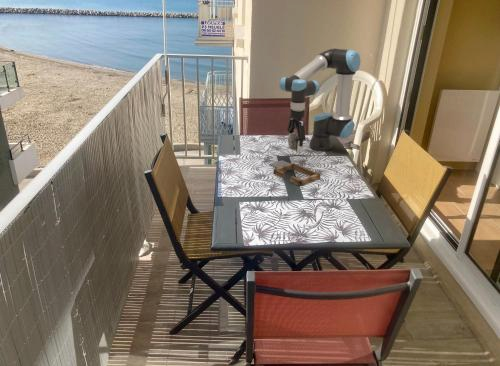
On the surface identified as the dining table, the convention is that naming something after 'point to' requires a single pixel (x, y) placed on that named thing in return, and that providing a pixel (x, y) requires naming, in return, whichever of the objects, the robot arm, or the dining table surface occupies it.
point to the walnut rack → (312, 174)
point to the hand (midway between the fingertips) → (295, 147)
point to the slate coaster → (279, 164)
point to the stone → (293, 142)
